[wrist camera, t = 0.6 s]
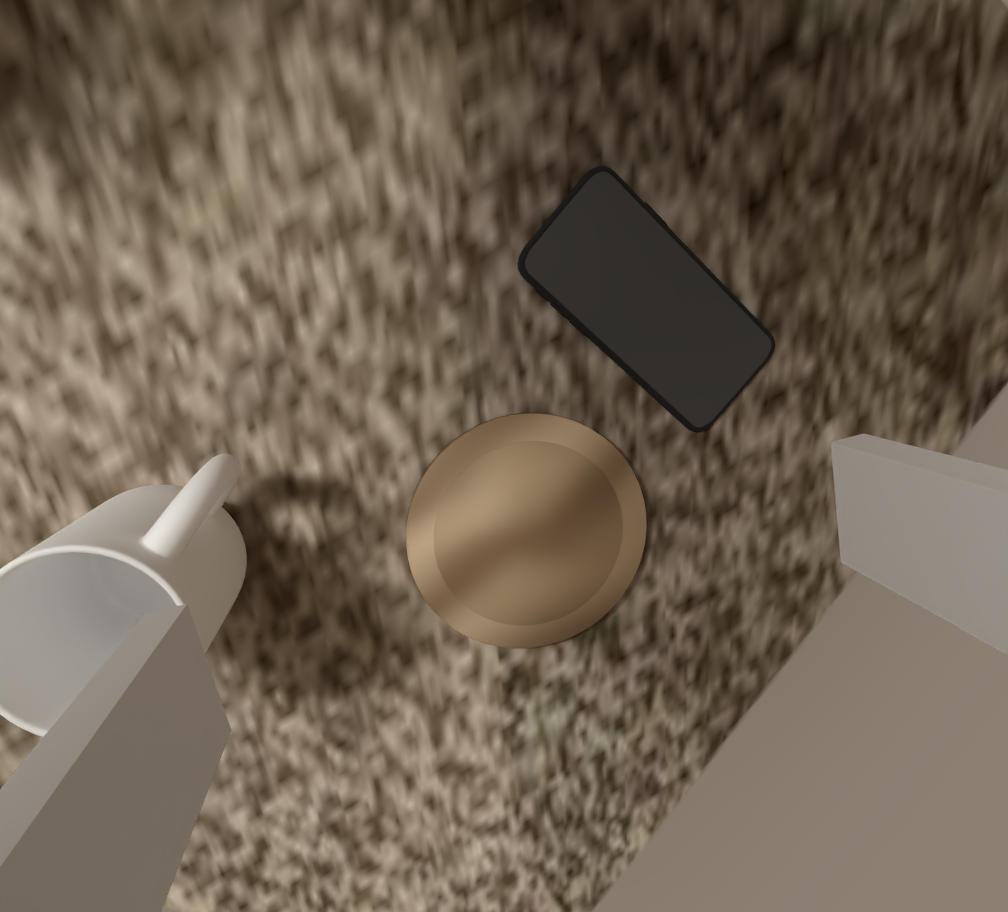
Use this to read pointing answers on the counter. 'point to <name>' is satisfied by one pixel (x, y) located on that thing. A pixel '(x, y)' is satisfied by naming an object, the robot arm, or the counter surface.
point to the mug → (114, 587)
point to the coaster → (526, 530)
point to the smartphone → (645, 299)
